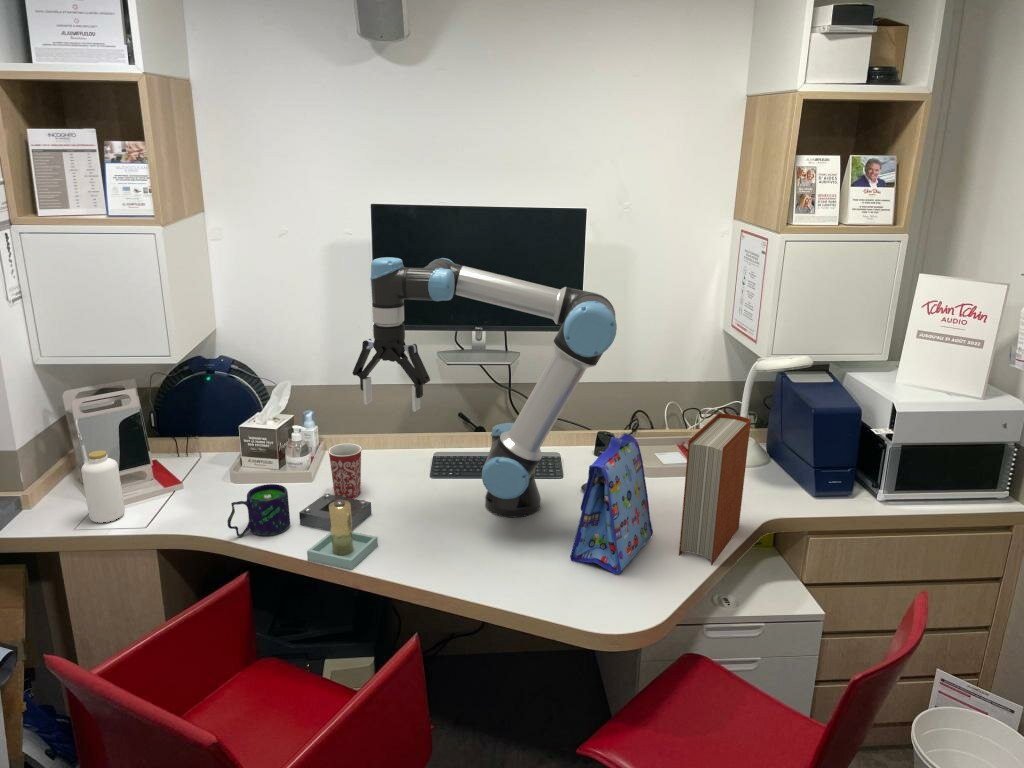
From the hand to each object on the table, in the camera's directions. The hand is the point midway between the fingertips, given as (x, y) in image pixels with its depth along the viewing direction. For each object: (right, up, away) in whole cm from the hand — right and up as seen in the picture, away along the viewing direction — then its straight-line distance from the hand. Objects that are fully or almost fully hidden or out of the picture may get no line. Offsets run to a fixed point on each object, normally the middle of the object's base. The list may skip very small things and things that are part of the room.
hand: (392, 406), depth 192 cm
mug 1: (-34, -32, +4) cm, 47 cm away
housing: (-16, -30, +10) cm, 35 cm away
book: (+80, -34, +2) cm, 87 cm away
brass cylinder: (-11, -34, -6) cm, 37 cm away
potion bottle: (-76, -29, +10) cm, 82 cm away
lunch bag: (+55, -35, -3) cm, 65 cm away
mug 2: (-16, -25, +27) cm, 40 cm away
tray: (-11, -35, -6) cm, 37 cm away
